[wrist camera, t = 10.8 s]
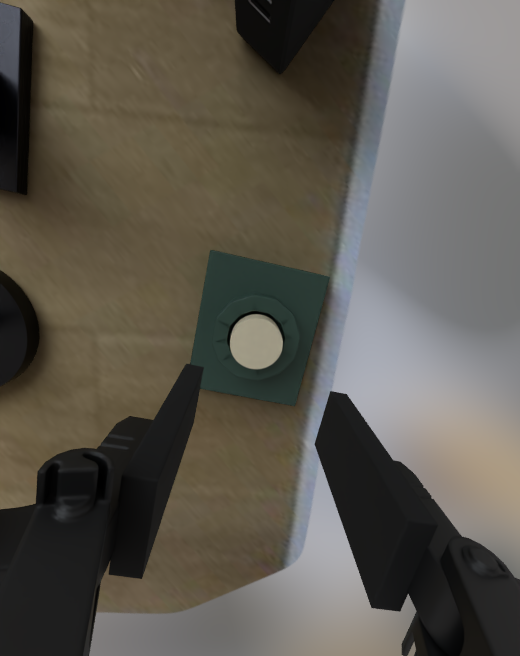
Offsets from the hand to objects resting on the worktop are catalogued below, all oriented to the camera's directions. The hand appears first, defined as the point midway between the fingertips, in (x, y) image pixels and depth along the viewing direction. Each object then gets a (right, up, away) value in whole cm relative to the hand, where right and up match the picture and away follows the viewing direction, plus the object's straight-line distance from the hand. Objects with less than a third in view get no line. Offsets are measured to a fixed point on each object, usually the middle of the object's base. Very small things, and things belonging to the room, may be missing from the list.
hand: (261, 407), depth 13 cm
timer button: (0, +3, +11) cm, 11 cm away
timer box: (-1, +4, +14) cm, 15 cm away
